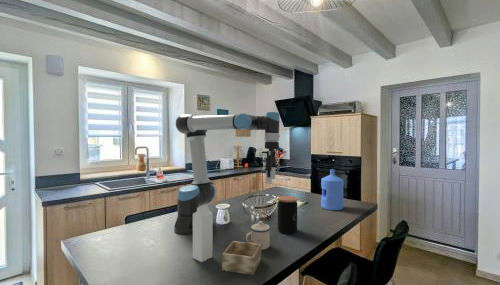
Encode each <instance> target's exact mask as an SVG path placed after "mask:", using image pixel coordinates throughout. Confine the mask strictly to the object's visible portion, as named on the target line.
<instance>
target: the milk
mask: <svg viewBox="0 0 500 285" xmlns="http://www.w3.org/2000/svg"><path fill="white" fill-rule="evenodd" d="M213 215H214V214H213V212H212V211H211V210H210V209H209V205H208V204H204V205H202V206H200V207H198V208H197V212H195V213H193V233H192V259H194V260H196V261H198V262H200V263H203V262H205V261H207V259H208V260H209V258H210V259H211V258H213V242H214V241H213V235H214V234H213V228H214V226H213V220H214V219H213V218H214V217H213Z"/></svg>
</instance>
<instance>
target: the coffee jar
mask: <svg viewBox="0 0 500 285" xmlns="http://www.w3.org/2000/svg"><path fill="white" fill-rule="evenodd" d="M297 201H298V197H295V196H292V195H291V196H290V195H282V196H278V197H277V231H278V232H279V233H281V234H283V235H284V234H286V235H293V234H295V233H296V232H297V231H298V202H297Z"/></svg>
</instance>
